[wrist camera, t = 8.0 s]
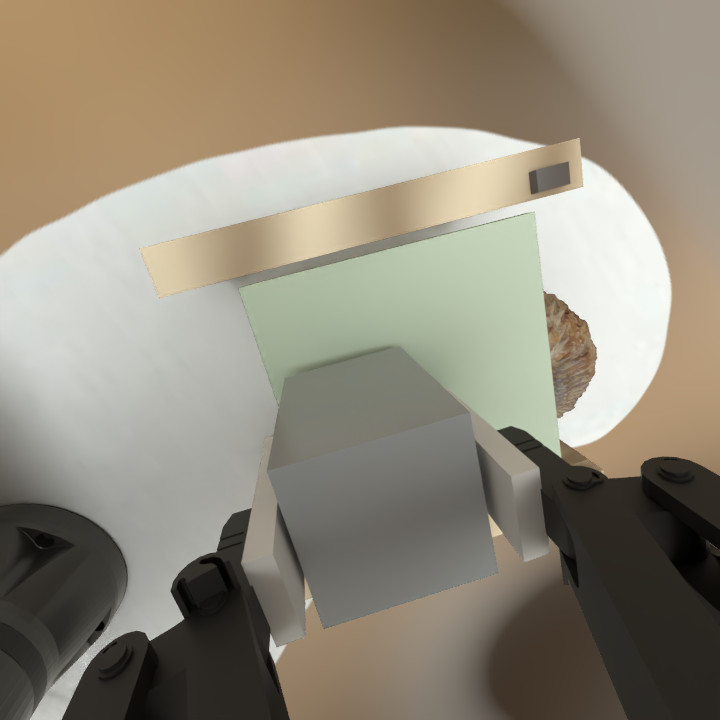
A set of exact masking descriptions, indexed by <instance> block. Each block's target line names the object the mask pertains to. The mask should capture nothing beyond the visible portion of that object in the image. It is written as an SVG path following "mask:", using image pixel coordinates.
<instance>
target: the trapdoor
mask: <svg viewBox="0 0 720 720" xmlns="http://www.w3.org/2000/svg"><path fill="white" fill-rule="evenodd" d="M238 289H239V292H240V295H241V298H242V301H243V304H244V307H245V309H246V312H247V315H248V318H249V321H250V324H251V327H252V330H253V333H254V336H255V339H256V342H257V345H258V348H259V351H260V354H261V356H262V359H263V362H264V365H265V368H266V371H267V374H268V377H269V380H270V383H271V386H272V389H273V392H274V395H275V398H276V401H277V403H278V406H279V405H280V399H281V394H282V389H283V384H284V379H285V378H286V377H289V376H293V375H296V374H300V373H304V372H307V371H311V370H315V369H318V368H322V367H326V366H329V365H333V364H336V363H340V362H344V361H347V360H351V359H355V358H358V357H362V356H365V355H369V354H373V353H376V352H380V351H384V350H387V349H391V348H394V347H398V346H400V347H401V348H402V349H403V350H404V351H405V352H406V353H408V354H409V355H410V356H411V357H412V358H413V359H414V360H415V361H416V362H417V363H418V364H419V365H420V366H421V367H422V368H423V369H425V370H426V371H427V372H428V373H429V374H430V375H431V376H432V377H433V378H434V379H435V380H436V381H437V382H438V383H439V384H441V385H445V386H446V387H447V388H448V389H449V390H450V391H452V392H453V393H454V394H455V395H456V396H457V397H458V398H460V399H461V400H462V401H463V402H464V403H465V404H467V405H468V406H469V407H470V408H471V409H472V410H473V411H475V412H476V413H477V414H478V415H479V416H480V417H481V418H483V419H484V420H485V421H486V422H487V423H488V424H490V425H491V426H492V427H493V428H494V429H495V430H500V429H503V428H506V427H509V426H513V427H516V428H519V429H522V430H525V431H526V432H528V433H529V434H530V435H532V436H533V437H534V438H535V439H536V440H538V441H540V442H541V443H542V444H543V445H544V446H546V447H547V448H549V449H550V450H551V451H553V452H554V453H555V454H557V455H558V456H559V457H561V450H560V441H559V432H558V422H557V413H556V404H555V395H554V386H553V376H552V367H551V358H550V349H549V339H548V330H547V321H546V312H545V303H544V293H543V284H542V275H541V266H540V257H539V247H538V238H537V229H536V220H535V212H531V213H525V214H521V215H518V216H514V217H510V218H506V219H502V220H498V221H494V222H490V223H487V224H483V225H479V226H475V227H471V228H467V229H463V230H459V231H456V232H452V233H448V234H444V235H440V236H436V237H432V238H428V239H425V240H421V241H417V242H413V243H409V244H405V245H401V246H397V247H394V248H390V249H386V250H382V251H378V252H374V253H370V254H366V255H363V256H359V257H355V258H351V259H347V260H343V261H339V262H335V263H332V264H328V265H324V266H320V267H316V268H312V269H308V270H304V271H301V272H297V273H293V274H289V275H285V276H281V277H277V278H273V279H270V280H266V281H262V282H258V283H254V284H250V285H246V286H243V287H240V288H238Z"/></svg>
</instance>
